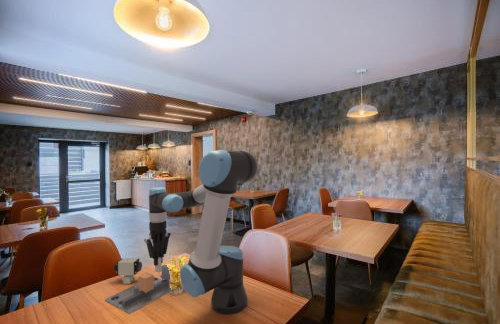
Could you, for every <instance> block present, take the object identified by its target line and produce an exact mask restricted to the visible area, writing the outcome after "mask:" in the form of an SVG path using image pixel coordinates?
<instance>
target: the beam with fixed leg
mask: <svg viewBox="0 0 500 324" xmlns="http://www.w3.org/2000/svg"><path fill="white" fill-rule="evenodd" d="M161 268H162V271H161V275H160V279H162V281H160V282H158V283H156V284H154V289H152V290H150V291H148V292H146V293H145V292H143V291H140V292H138V293H136V294H134V295H132V296H130V297H128V298H126V299H124V300H122V306H124V307H126V306H128V305H129V304H131V303H133V302H135V301H137V300H139V299H141V298H143V297H145V296H147V295H149V294H150V293H152V292H154V291H156V290H158V289H160V288H162V287H164V286H166V285H168V284H169V282H170V281H171V280H170V274H169V270H168V267H167V264H164V265H161Z"/></svg>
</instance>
